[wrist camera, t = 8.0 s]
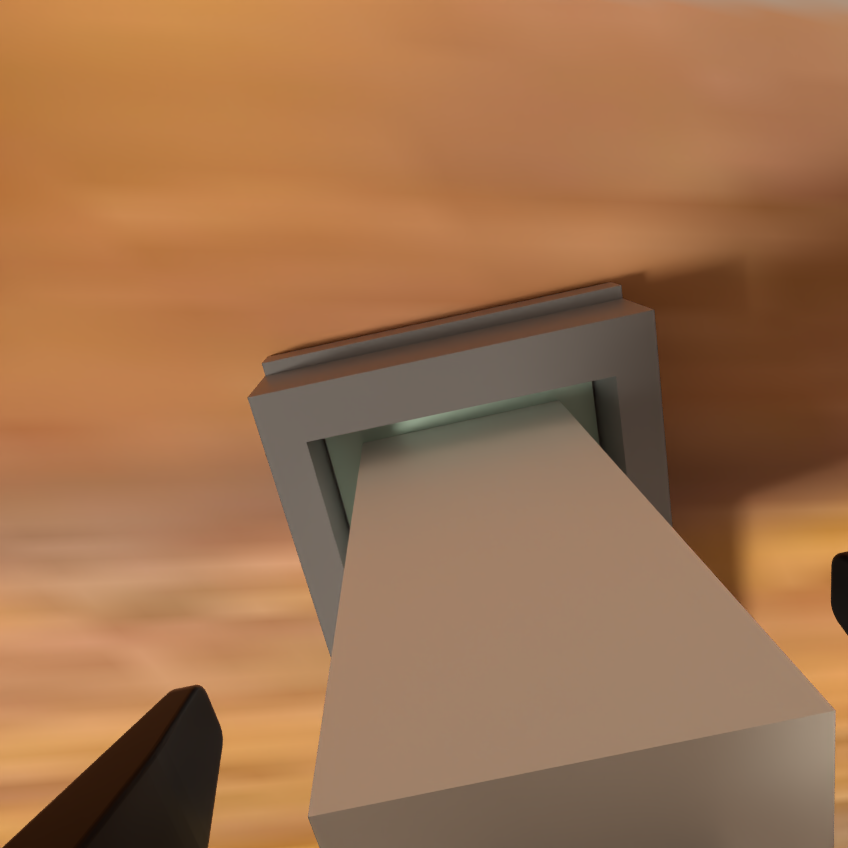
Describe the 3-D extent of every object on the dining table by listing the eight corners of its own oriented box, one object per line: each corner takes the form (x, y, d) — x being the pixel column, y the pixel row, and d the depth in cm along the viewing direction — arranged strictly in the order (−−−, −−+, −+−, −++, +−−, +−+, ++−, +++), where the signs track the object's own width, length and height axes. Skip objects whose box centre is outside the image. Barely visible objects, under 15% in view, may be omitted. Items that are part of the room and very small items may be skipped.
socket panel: (669, 844, 17) (705, 926, 15) (429, 890, 17) (433, 977, 15) (610, 281, 12) (652, 294, 10) (268, 356, 12) (243, 383, 10)
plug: (583, 569, 13) (897, 1156, 5) (406, 607, 13) (424, 1242, 5) (558, 399, 12) (924, 811, 4) (362, 442, 12) (290, 935, 4)
